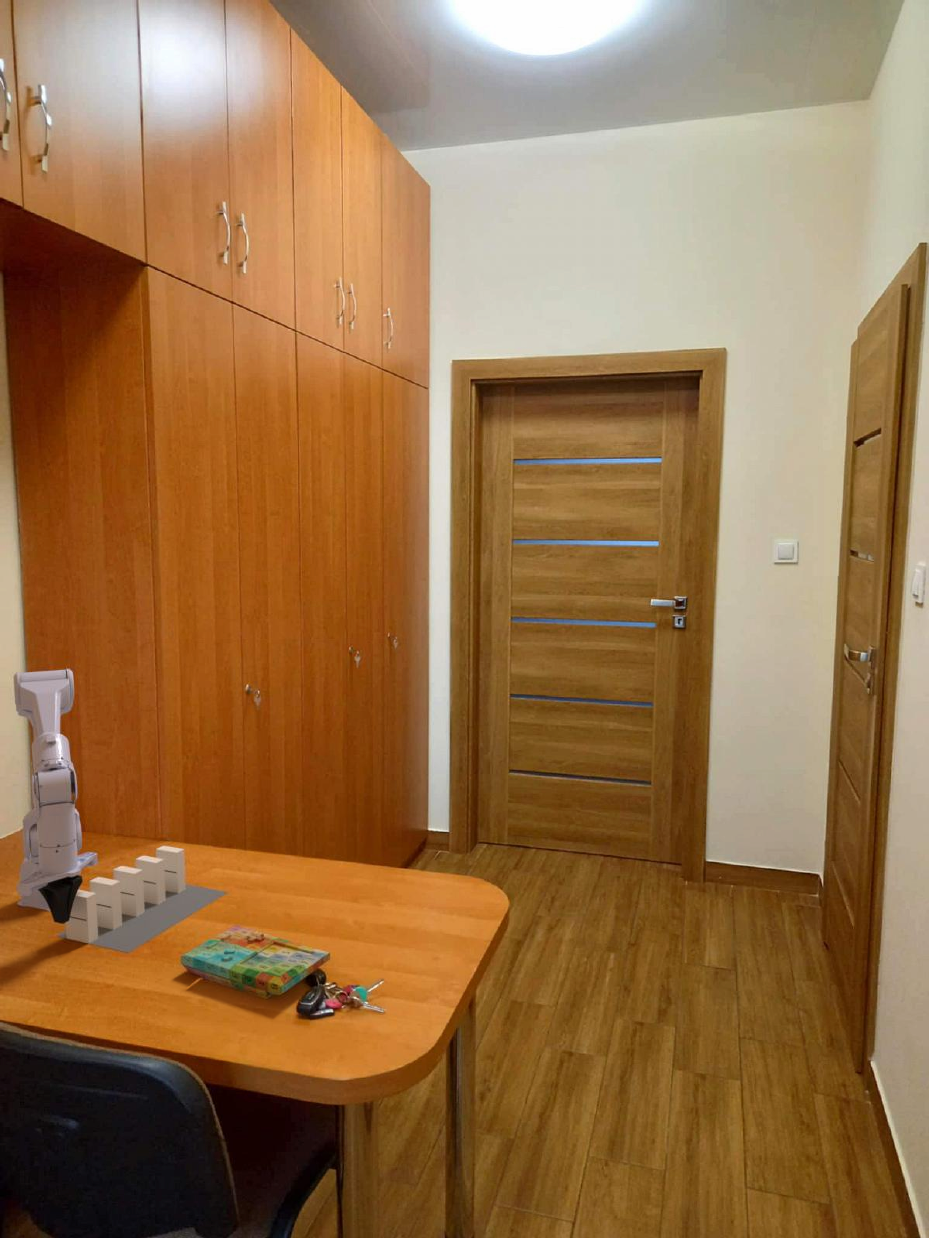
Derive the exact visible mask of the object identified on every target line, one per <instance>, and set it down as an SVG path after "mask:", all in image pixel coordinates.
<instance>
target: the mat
mask: <svg viewBox="0 0 929 1238" xmlns="http://www.w3.org/2000/svg"><path fill="white" fill-rule="evenodd" d="M185 886H186V889H185V890H183V891H182V892H180V893H175V892H170V891H165V896H166V901H164V902H162V903H160V904H159V905H157V904H152V903H147V902H144V909H145V912H144V913H143V914H141V915H139V916H137V917H135V916H131V915H126V914H122V925H121V926H119V927H118V928H116V929H114V930H112V929H108V928H104V927H99V926H98V939H96V940H95V941H93V942H91V943H87V944H89V945H93V946H96V947H100V948H105V949H109V950H114V951H117V952H118V951H119V952H121V953H126V954H130V953H131V952H133V951H134V950H136V949H138V948H139V947H142V946H143V945H144V944H147V943H148V942H149V941H151V940H153V939H154V938H156V937H157V936H159V935H161V934H162V933H164V932H166V931H167V930H169V929H171V928H172V927H174V926H176V925H177V924H180V923H181V922H182V921H184V920H185V919H187V918H189V917H190V916H192V915H194V914H195V913H197V912H198V911H201V910H202V909H203V908H205V907H207V906H209V905H210V904H211V903H213V902H216V900H218V899H219V898H222V897H223V896H225V895H227V894H228V893H229V892H228V891H223V890H219V889H213V888H207V887H203V886H197V885H193V884H188V883H187V884H186V883H185ZM55 937H58V938H63V939H65V940H66V939H67V934H66V930H64V931H62V932H61V933H59V934H56V935H55ZM67 940H68V939H67ZM70 940H71V941H73V940H72V939H70ZM74 942H77V941H76V940H74ZM78 942H80V941H78ZM80 943H81V942H80ZM82 943H84V942H82ZM84 944H85V943H84Z"/></svg>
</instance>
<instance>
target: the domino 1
mask: <svg viewBox="0 0 929 1238" xmlns="http://www.w3.org/2000/svg"><path fill="white" fill-rule="evenodd" d="M65 929H66V930H65V931H66V934H67V940H71V939H72V940H71V941H75V940H76V941H75V942H79V941H80V943H83V942H84V944H88V943H91V942H93V941H95V940H96V939H98V925H97V905H96V893H93V892H90V891H87V890H82V889H78V891H77V893H76V896H75V899H74V902H73V906H72V910H71V914H70V919H69V921H68V922H66V923H65Z"/></svg>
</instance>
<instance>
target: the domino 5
mask: <svg viewBox="0 0 929 1238" xmlns="http://www.w3.org/2000/svg"><path fill="white" fill-rule="evenodd" d="M155 852H156V853H155V854H156V857H155V858H160V859H164V872H165V891H170V892H175V893H180V892H182V891H183V890H185V889H186V886H185V884H186V868H185V865H186V864H185V863H186V862H185V849H184V848H179V847H175V846H174V847H173V846H168V845H162V846H160V847H157V848H156V849H155Z"/></svg>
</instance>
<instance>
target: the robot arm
mask: <svg viewBox="0 0 929 1238" xmlns="http://www.w3.org/2000/svg"><path fill="white" fill-rule="evenodd" d="M13 688H14V689H13V691H14V692H13V693H14V704H15V711H16V712H17V715H18V717H19V716H20V717H23V718H27V719H28V721H29V722H30V724H31V726H32V728H33V741H32V743H31V756H32V767H33V770H32V771H33V775H31V792H32V793H31V794H32V802H33V806H34V807H33V808H32V809H31V810H30V811H29V812H27V813H26V814H25V815H24V816H23V819H22V844H23V857H24V859H23V861H22V863H21V865H20V869H19V882H17V883H16V886H17V887H16V889H17V891H16V892H17V895H19V896H20V901H18V902H17V906H18V905H19V906H20V907H30V908H36V909H41V910H45V911H49V912H51V917H52V919H53V922H54V923H57V924H60V925H64V924H66V922H68V921H69V919H70V914H71V910H72V906H73V902H74V899H75V896H76V893H77V891H78V890H80V887H81V885H82V884H83V876H82V875H81V874H82V870H83V869H85V868H88V867H90V866H91V867H94V866H97V865H98V864H99V863H98V853H97V852H90V851H87V852H85V853H82V854H79V855H78V852H79V851H80V850H81V849H82V847H83V838H82V836H83V835H82V826H81V821H80V813H79V811H78V809H77V808H75V807H76V806H75V803H77V799H78V782H77V781H78V780H77V779H78V778H77V773H76V771H75V767H74V763H73V762H72V760H71V752H70V751H71V750H70V742H69V739H68V738H67V737H66V736H65V735H64V734H62V733H61V716H62V715H64V714H67V713H69V712H70V711H72V707H74V706H73V705H74V699H75V683H74V672H73V670H71V669H70V668H66V669H57V670H42V671H41V670H40V671H32V672H31V671H29V672H27V671H26V672H19V671H18V672H15V674H14V675H13ZM72 795H73V798H74V800H73V799H72Z"/></svg>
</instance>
